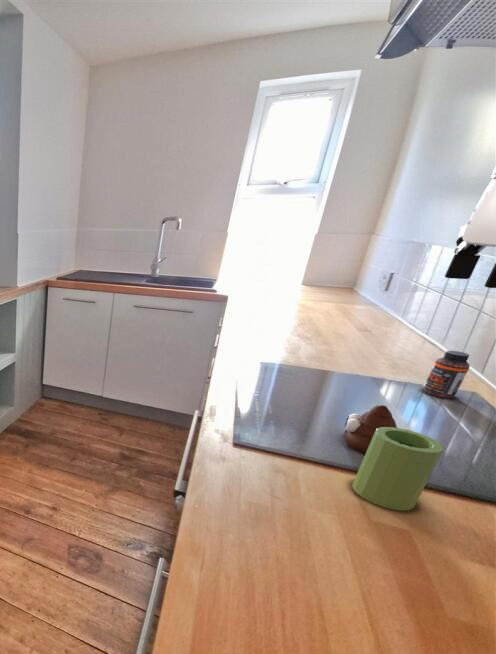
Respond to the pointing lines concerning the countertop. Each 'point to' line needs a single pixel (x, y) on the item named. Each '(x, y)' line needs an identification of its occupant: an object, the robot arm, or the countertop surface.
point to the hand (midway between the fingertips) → (475, 282)
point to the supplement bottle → (447, 374)
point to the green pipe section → (396, 467)
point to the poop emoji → (366, 427)
